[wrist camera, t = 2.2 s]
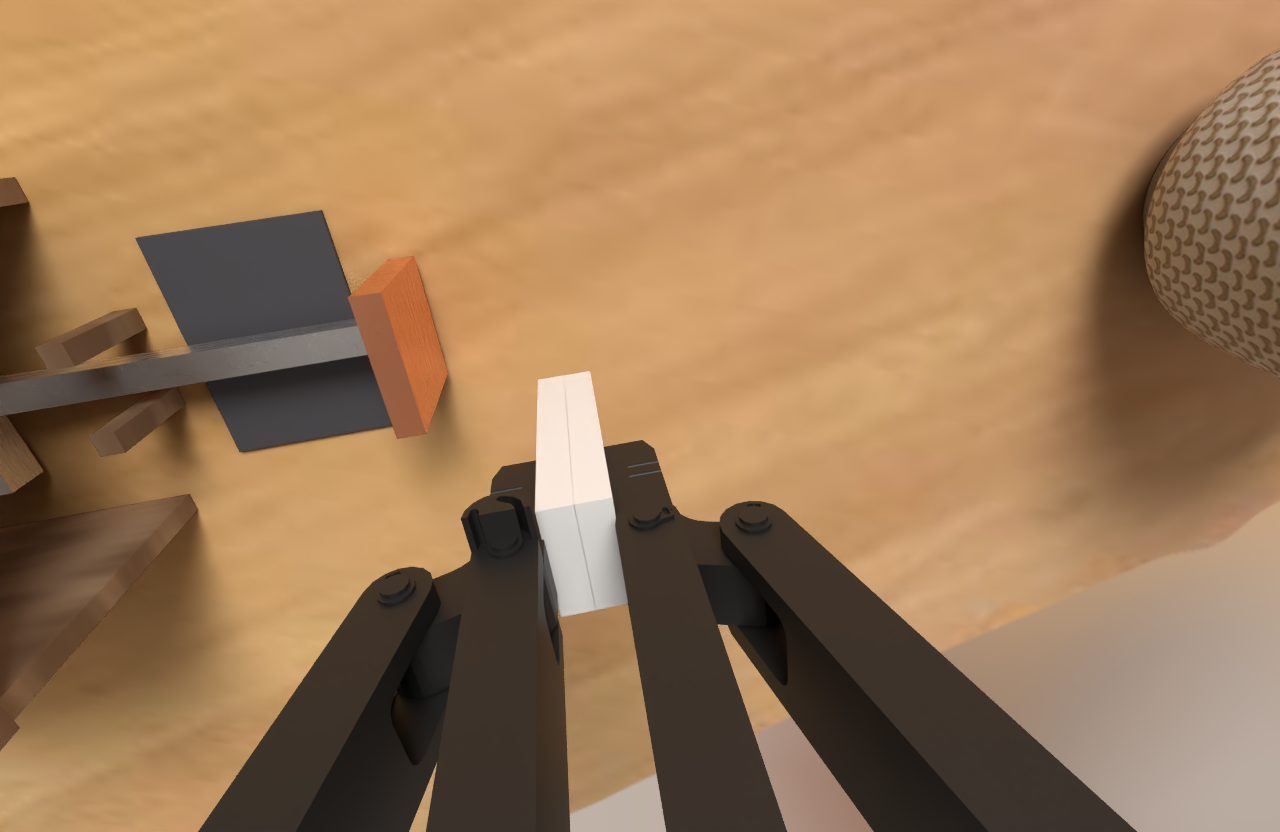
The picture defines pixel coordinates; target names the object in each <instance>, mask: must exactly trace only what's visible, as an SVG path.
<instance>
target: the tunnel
mask: <svg viewBox="0 0 1280 832" xmlns="http://www.w3.org/2000/svg"><path fill="white" fill-rule="evenodd" d="M27 202H28V200H27V199H26V197H25V195H24V193H23V191H22V189H21V188H20V186H19V184H18V182H17V180H16V179H15V177H13V178H4V179H0V207H3V206H9V205H15V204H21V203H27ZM145 329H146V327H145V325H144V323H143V321H142V319H141V317H140V315H139V313H138V311H137V309H136V308H133V309H127V310H120V311H114V312H111V313H109V314H107V315H105V316H103V317H100V318H98V319H96V320H94V321H91V322H89V323H87V324H85V325H83V326H80V327H78V328H76V329H74V330H72V331H69V332H67V333H65V334H63V335H60V336H58V337H56V338H54V339H52V340H49V341H47V342H45V343H43V344H41V345H38V346H36V347H34V348H35V349H36V351H37V353H38V354H39V356H40V358H41V359H42V361H43V363H44V364H45V366H46V367H47V369H48V371H51V370H57V369H63V368H69V367H75V366H77V365H79V364H81V363H83V362H85V361H86V360H88V359H90V358H92V357H94V356H96V355H98V354H100V353H101V352H103V351H105V350H107V349H109V348H111V347H113V346H115V345H116V344H118V343H120V342H122V341H124V340H126V339H128V338H130V337H131V336H133V335H135V334H137V333H139V332H141V331H143V330H145ZM184 405H185V403H184V401H183V399H182V397H181V395H180V393H179V391H178V389H177V387H171V388H165V389H159V390H154V391H152V392H151V393H150V394H148V395H147V396H145V397H144V398H142V399H141V400H140V401H138V402H137V403H135V404H134V405H133V406H131V407H130V408H128V409H127V410H125V411H124V412H123V413H121V414H120V415H118V416H117V417H115V418H114V419H113V420H111V421H110V422H108V423H107V424H106V425H104V426H103V427H101V428H100V429H98V430H97V431H96V432H94V433H93V434H91V435H90V436H89V438H90V440H91V441H92V443H93V445H94V446H95V448H96V450H97V451H98V453H99V454H100V456H101V457H103V456H109V455H114V454H120V453H126V452H127V451H128V450H129V449H131V448H132V447H133V446H134V445H136V444H137V443H138V442H139V441H140V440H142V439H143V438H144V437H145V436H147V435H148V434H149V433H150V432H152V431H153V430H154V429H155V428H157V427H158V426H159V425H160V424H162V423H163V422H164V421H165V420H166V419H168V418H169V417H170V416H171V415H173V414H174V413H175V412H176V411H178V410H179V409H180V408H181V407H183V406H184ZM197 510H198V509H197V507H196V505H195V504H194V502H193V500H192V498H191V496H190V494H188V495H182V496H177V497H171V498H166V499H160V500H155V501H149V502H144V503H138V504H133V505H127V506H121V507H116V508H110V509H105V510H99V511H94V512H88V513H83V514H77V515H72V516H66V517H60V518H55V519H49V520H44V521H38V522H33V523H27V524H22V525H16V526H11V527H5V528H0V751H1V749H2V748H3V747H4V746H5V745H6V744H7V742H8V741H9V740H10V739H11V738H12V736H13V735H14V734H15V733H16V732H17V731H18V729H19V728H20V727H19V726H18V725H17V724H16V723H15V722H14V720H15V718H16V717H17V716H18V715H19V714H20V713H21V712H22V710H23V709H24V708H25V707H26V706H27V705H28V703H29V702H30V701H31V700H32V699H33V698H34V697H35V695H36V694H37V693H38V692H39V691H40V690H41V689H42V687H43V686H44V685H45V684H46V683H47V682H48V681H49V679H50V678H51V677H52V676H53V675H54V674H55V673H56V671H57V670H58V669H59V668H60V667H61V666H62V665H63V663H64V662H65V661H66V660H67V659H68V658H69V656H70V655H71V654H72V653H73V652H74V651H75V650H76V648H77V647H78V646H79V645H80V644H81V643H82V642H83V640H84V639H85V638H86V637H87V636H88V635H89V634H90V632H91V631H92V630H93V629H94V628H95V627H96V626H97V624H98V623H99V622H100V621H101V620H102V619H103V618H104V616H105V615H106V614H107V613H108V612H109V611H110V610H111V608H112V607H113V606H114V605H115V604H116V603H117V601H118V600H119V599H120V598H121V597H122V596H123V595H124V593H125V592H126V591H127V590H128V589H129V588H130V587H131V585H132V584H133V583H134V582H135V581H136V580H137V579H138V577H139V576H140V575H141V574H142V573H143V572H144V571H145V569H146V568H147V567H148V566H149V565H150V564H151V563H152V561H153V560H154V559H155V558H156V557H157V556H158V554H159V553H160V552H161V551H162V550H163V549H164V548H165V546H166V545H167V544H168V543H169V542H170V541H171V540H172V538H173V537H174V536H175V535H176V534H177V533H178V532H179V530H180V529H181V528H182V527H183V526H184V525H185V524H186V522H187V521H188V520H189V519H190V518H191V517H192V516H193V514H194V513H195V512H196V511H197Z"/></svg>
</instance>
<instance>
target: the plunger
mask: <svg viewBox="0 0 1280 832" xmlns="http://www.w3.org/2000/svg"><path fill="white" fill-rule="evenodd" d="M348 300H349V303H350V305H351V308H352V311H353V314H354V317H355V319H350V320H344V321H337V322H331V323H325V324H319V325H313V326H307V327H300V328H294V329H288V330H282V331H276V332H270V333H263V334H257V335H251V336H245V337H239V338H232V339H226V340H220V341H214V342H208V343H202V344H195V345H189V346H183V347H177V348H171V349H164V350H158V351H152V352H146V353H140V354H134V355H127V356H121V357H115V358H109V359H103V360H97V361H90V362H84V363H81V364H79V365H77V366H75V367H69V368H63V369H57V370H51V371H48V369H41V370H35V371H29V372H22V373H16V374H10V375H4V376H0V495H5V494H10V493H14V492H15V491H16V490H18V489H19V488H21V487H22V486H23V485H25V484H26V483H28V482H29V481H30V480H32V479H33V478H35V477H36V476H38V475H39V474H40V473H42V472H43V470H42V468H41V467H40V465H39V464H38V462H37V461H36V459H35V458H34V456H33V455H32V453H31V452H30V450H29V449H28V447H27V446H26V444H25V443H24V441H23V440H22V438H21V437H20V435H19V434H18V432H17V431H16V429H15V428H14V426H13V425H12V423H11V422H10V420H9V419H8V417H7V416H6V415H9V414H15V413H21V412H27V411H33V410H39V409H45V408H51V407H57V406H63V405H69V404H75V403H81V402H87V401H93V400H99V399H105V398H111V397H117V396H123V395H129V394H135V393H141V392H147V391H153V390H159V389H165V388H171V387H177V386H183V385H189V384H195V383H201V382H207V381H213V380H219V379H225V378H231V377H237V376H243V375H249V374H255V373H261V372H267V371H273V370H279V369H285V368H291V367H297V366H303V365H309V364H315V363H321V362H327V361H333V360H339V359H345V358H351V357H357V356H363V355H368V357H369V360H370V363H371V366H372V368H373V371H374V374H375V377H376V380H377V383H378V386H379V389H380V391H381V394H382V397H383V400H384V403H385V406H386V409H387V411H388V414H389V417H390V420H391V423H392V426H393V429H394V432H395V434H396V437H397V439H400V438H405V437H411V436H417V435H422V434H427V431H428V428H429V425H430V422H431V420H432V417H433V414H434V411H435V408H436V405H437V403H438V400H439V397H440V394H441V391H442V388H443V386H444V383H445V380H446V377H447V374H448V372H447V368H446V365H445V361H444V358H443V354H442V351H441V348H440V344H439V341H438V337H437V334H436V330H435V327H434V323H433V320H432V316H431V313H430V310H429V306H428V303H427V299H426V296H425V292H424V289H423V285H422V282H421V278H420V275H419V272H418V268H417V265H416V261H415V258H414V256H410V257H403V258H397V259H390V260H387V261H386V262H385V263H384V264H383V265H382V266H381V267H380V268H379V269H378V270H377V271H376V272H375V273H373V274H372V275H371V276H370V277H369V278H368V279H367V280H366V281H365V282H364V283H363V284H362V285H361V286H360V287H358V288H357V289H356V290H355V291H354V292H353V293H352V294H351V295H350V296H349V297H348Z"/></svg>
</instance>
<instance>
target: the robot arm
mask: <svg viewBox="0 0 1280 832" xmlns="http://www.w3.org/2000/svg"><path fill="white" fill-rule="evenodd" d="M461 521H462V524H463V527H464V530H465V533H466V537H467V540H468V543H469V546H470V549H471V552H472V553H471V559H470V561H469V562H468V563H466V564H465V565H463V566H462V567H460V568H458V569H456V570H454V571H452V572H450V573H447V574H445V575H442V576H440V577H437V578H435V579H432V576H431V573H430V572H428V571H427V570H425V569H423V568H417V567H407V568H401V569H397V570H395V571H392V572H390V573H387V574H385V575H383V576H382V577H380V578H379V579H377V580H375V581H374V582H372V584H371V585H370V586H369V587H368V588H367V589H366V590H365V591H364V592H363V594H362V595H361V596H360V598H359V599H358V601H357V602H356V604H355V605H354V607H353V608H352V609H351V611H350V612H349V614H348V615H347V617H346V618H345V620H344V621H343V623H342V624H341V625H340V627H339V628H338V630H337V631H336V633H335V634H334V636H333V637H332V638H331V640H330V641H329V643H328V644H327V646H326V647H325V649H324V650H323V652H322V653H321V654H320V656H319V657H318V659H317V660H316V662H315V663H314V665H313V666H312V667H311V669H310V670H309V672H308V673H307V675H306V676H305V678H304V679H303V681H302V682H301V683H300V685H299V686H298V688H297V689H296V691H295V692H294V694H293V695H292V696H291V698H290V699H289V701H288V702H287V704H286V705H285V707H284V708H283V710H282V711H281V712H280V714H279V715H278V717H277V718H276V720H275V721H274V723H273V724H272V725H271V727H270V728H269V730H268V731H267V733H266V734H265V736H264V737H263V739H262V740H261V741H260V743H259V744H258V746H257V747H256V749H255V750H254V752H253V753H252V754H251V756H250V757H249V759H248V760H247V762H246V763H245V765H244V766H243V768H242V769H241V770H240V772H239V773H238V775H237V776H236V778H235V779H234V781H233V782H232V783H231V785H230V786H229V788H228V789H227V791H226V792H225V794H224V795H223V797H222V798H221V799H220V801H219V802H218V804H217V805H216V807H215V808H214V810H213V811H212V812H211V814H210V815H209V817H208V818H207V820H206V821H205V823H204V824H203V826H202V827H201V828H200V830H199V831H198V832H409V830H410V827H411V825H412V823H413V820H414V818H415V815H416V813H417V810H418V808H419V805H420V803H421V800H422V798H423V795H424V793H425V790H426V788H427V785H428V783H429V780H430V778H431V775H432V773H433V771H434V768H435V766H436V763H437V767H436V773H435V779H434V785H433V792H432V798H431V804H430V810H429V816H428V822H427V828H426V832H570V815H569V789H568V763H567V737H566V711H565V685H564V660H563V636H562V632H561V628H560V624H559V620H558V607H559V611H560V615H561V617H564V616H570V615H575V614H580V613H585V612H590V611H595V610H600V609H605V608H610V607H615V606H620V605H625V604H628V606H629V612H630V618H631V624H632V630H633V636H634V642H635V648H636V653H637V659H638V665H639V671H640V677H641V683H642V689H643V695H644V701H645V707H646V713H647V719H648V725H649V731H650V737H651V743H652V749H653V755H654V761H655V767H656V773H657V779H658V784H659V790H660V796H661V802H662V808H663V814H664V820H665V825H666V832H787V830H786V827H785V824H784V821H783V818H782V815H781V812H780V809H779V806H778V803H777V800H776V797H775V794H774V791H773V789H772V786H771V783H770V780H769V777H768V774H767V771H766V768H765V765H764V762H763V759H762V756H761V753H760V750H759V747H758V744H757V741H756V738H755V735H754V732H753V729H752V726H751V723H750V720H749V717H748V714H747V711H746V708H745V705H744V702H743V699H742V696H741V693H740V690H739V688H738V685H737V682H736V679H735V676H734V673H733V670H732V667H731V664H730V661H729V658H728V655H727V652H726V649H725V646H724V643H723V640H722V637H721V634H720V631H719V628H718V625H717V624H722V625H728V627H729V629H730V632H731V634H732V635H733V637H734V638H735V639H736V641H737V642H738V644H739V645H740V646H741V648H742V649H743V651H744V652H745V653H746V655H747V656H748V658H749V659H750V660H751V662H752V663H753V664H754V666H755V667H756V669H757V670H758V671H759V673H760V674H761V676H762V677H763V678H764V680H765V681H766V683H767V684H768V685H769V687H770V688H771V689H772V691H773V692H774V694H775V695H776V696H777V698H778V699H779V701H780V702H781V703H782V705H783V706H784V708H785V709H786V710H787V712H788V713H789V714H790V716H791V717H792V719H793V720H794V721H795V723H796V724H797V725H798V727H799V728H800V730H801V731H802V733H803V734H804V735H805V737H806V738H807V739H808V741H809V742H810V743H811V745H812V746H813V748H814V749H815V751H816V752H817V753H818V755H819V756H820V758H821V759H822V760H823V762H824V763H825V764H826V766H827V767H828V769H829V770H830V771H831V773H832V774H833V775H834V777H835V778H836V780H837V781H838V783H839V784H840V785H841V787H842V788H843V789H844V791H845V792H846V793H847V795H848V796H849V798H850V799H851V800H852V802H853V803H854V805H855V806H856V808H857V809H858V810H859V812H860V813H861V814H862V816H863V817H864V819H865V820H866V821H867V823H868V824H869V826H870V827H871V828H872V830H873V831H874V832H1137V831H1136V830H1135V829H1133V828H1132V827H1131V826H1130V825H1129V824H1128V823H1127V822H1126V821H1125V820H1124V819H1122V818H1121V817H1120V816H1119V815H1118V814H1117V813H1116V812H1114V811H1113V810H1112V809H1111V808H1110V807H1109V806H1108V805H1107V804H1106V803H1105V802H1104V801H1103V800H1101V799H1100V798H1099V797H1098V796H1097V795H1096V794H1095V793H1094V792H1093V791H1091V790H1090V789H1089V788H1088V787H1087V786H1086V785H1085V784H1084V783H1083V782H1082V781H1081V780H1079V779H1078V778H1077V777H1076V776H1075V775H1074V774H1073V773H1072V772H1071V771H1070V770H1068V769H1067V768H1066V767H1065V766H1064V765H1063V764H1062V763H1061V762H1060V761H1059V760H1057V759H1056V758H1055V757H1054V756H1053V755H1052V754H1051V753H1050V752H1048V751H1047V750H1046V749H1045V748H1044V747H1043V746H1042V745H1041V744H1040V743H1039V742H1038V741H1037V740H1035V739H1034V738H1033V737H1032V736H1031V735H1030V734H1029V733H1028V732H1027V731H1026V730H1024V729H1023V728H1022V727H1021V726H1020V725H1019V724H1018V723H1017V722H1016V721H1015V720H1013V719H1012V718H1011V717H1010V716H1009V715H1008V714H1007V713H1006V712H1005V711H1003V710H1002V709H1001V708H1000V707H999V706H998V705H997V704H996V703H995V702H994V701H992V700H991V699H990V698H989V697H988V696H987V695H986V694H985V693H984V692H983V691H981V690H980V689H979V688H978V687H977V686H976V685H975V684H974V683H973V682H972V681H970V680H969V679H968V678H967V677H966V676H965V675H964V674H963V673H962V672H960V671H959V670H958V669H957V668H956V667H955V666H954V665H953V664H952V663H951V662H949V661H948V660H947V659H946V658H945V657H944V656H943V655H942V654H941V653H940V652H939V651H937V650H936V649H935V648H934V647H933V646H932V645H931V644H930V643H929V642H928V641H926V640H925V639H924V638H923V637H922V636H921V635H920V634H919V633H918V632H917V631H915V630H914V629H913V628H912V627H911V626H910V625H909V624H908V623H907V622H906V621H904V620H903V619H902V618H901V617H900V616H899V615H898V614H897V613H896V612H895V611H893V610H892V609H891V608H890V607H889V606H888V605H887V604H886V603H885V602H884V601H882V600H881V599H880V598H879V597H878V596H877V595H876V594H875V593H874V592H872V591H871V590H870V589H869V588H868V587H867V586H866V585H865V584H864V583H863V582H861V581H860V580H859V579H858V578H857V577H856V576H855V575H854V574H853V573H852V572H850V571H849V570H848V569H847V568H846V567H845V566H844V565H843V564H842V563H841V562H839V561H838V560H837V559H836V558H835V557H834V556H833V555H832V554H831V553H830V552H828V551H827V550H826V549H825V548H824V547H823V546H822V545H821V544H820V543H819V542H817V541H816V540H815V539H814V538H813V537H812V536H811V535H810V534H809V533H808V532H806V531H805V530H804V529H803V528H802V527H801V526H800V525H799V524H798V523H797V522H795V521H794V520H793V519H792V518H791V517H790V516H789V515H788V514H787V513H786V512H784V511H783V510H782V509H780V508H778V507H777V506H775V505H773V504H769V503H766V502H761V501H748V502H743V503H738V504H735V505H733V506H732V507H730V508H728V509H726V510H725V512H724V513H723V514H722V515H721V517H720V522H706V521H697V520H693V519H689V518H687V517H685V516H683V515H681V514H680V513H679V511H678V510H677V509H676V507H675V506H673V505H672V502H671V499H670V496H669V493H668V490H667V487H666V484H665V481H664V478H663V475H662V472H661V469H660V466H659V462H658V459H657V456H656V453H655V450H654V448H652V447H651V446H650V445H648V444H647V443H646V442H644V441H643V440H640V441H635V442H629V443H623V444H618V445H612V446H607V447H603V442H602V436H601V431H600V425H599V419H598V414H597V408H596V403H595V397H594V391H593V386H592V380H591V375H590V371H588V372H582V373H576V374H570V375H564V376H558V377H552V378H546V379H541V380H538V405H537V445H536V461H531V462H525V463H520V464H514V465H508V466H503V467H502V468H501V469H500V470H499V471H498V473H497V474H496V475H495V476H494V478H493V479H492V485H491V494H490V496H486V497H484V498H482V499H480V500H478V501H476V502H474V503H473V504H472V505H471V506H469V507H468V508H467V509H466V510H465V511H464V513H463V515H462V517H461Z"/></svg>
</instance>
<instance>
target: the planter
mask: <svg viewBox="0 0 1280 832" xmlns="http://www.w3.org/2000/svg"><path fill="white" fill-rule="evenodd" d="M1143 227H1144V257H1145V262H1146V268H1147V274H1148V277H1149V279H1150V282H1151V285H1152V287H1153V290H1154V292H1155V295H1156V297H1157V298H1158V300H1159V301H1160V302H1161V304H1162V305H1163V307H1164V308H1165V309H1166V311H1167V312H1168V313H1169V314H1170V315H1171V316H1172V317H1173V318H1174V319H1175V320H1176V321H1178V322H1179V323H1180V324H1181V325H1182V326H1183V327H1185V328H1186V329H1187V330H1189V331H1190V332H1191V333H1192V334H1194V335H1195V336H1197V337H1199V338H1200V339H1202V340H1204V341H1205V342H1207V343H1209V344H1211V345H1212V346H1214V347H1216V348H1218V349H1220V350H1222V351H1224V352H1226V353H1228V354H1230V355H1232V356H1234V357H1236V358H1238V359H1240V360H1242V361H1244V362H1246V363H1248V364H1250V365H1252V366H1254V367H1256V368H1258V369H1260V370H1262V371H1265V372H1267V373H1269V374H1271V375H1273V376H1275V377H1277V378H1279V379H1280V48H1278V49H1277V50H1275V51H1273V52H1272V53H1270V54H1268V55H1267V56H1265V57H1264V58H1262V59H1261V60H1259V61H1258V62H1257V63H1255V64H1254V65H1253V66H1252V67H1250V68H1249V69H1248V70H1247V71H1245V72H1244V73H1243V74H1242V75H1240V76H1239V77H1238V78H1236V79H1235V80H1234V81H1233V82H1231V83H1230V84H1229V85H1228V86H1227V87H1226V88H1225V89H1224V90H1223V91H1222V92H1221V93H1220V94H1219V95H1218V96H1217V97H1216V98H1215V99H1214V100H1213V101H1212V102H1211V103H1209V105H1208V106H1207V107H1206V108H1205V109H1204V111H1203V112H1202V113H1201V114H1200V115H1199V117H1198V118H1197V119H1196V120H1195V121H1194V123H1193V124H1192V125H1191V126H1190V127H1189V128H1188V129H1187V130H1186V131H1185V132H1184V133H1183V134H1182V135H1181V136H1180V137H1179V138H1178V139H1177V140H1176V141H1175V143H1174V144H1173V145H1172V146H1171V147H1170V149H1169V150H1168V151H1167V153H1166V154H1165V156H1164V157H1163V159H1162V160H1161V162H1160V164H1159V166H1158V167H1157V169H1156V171H1155V173H1154V175H1153V177H1152V180H1151V182H1150V185H1149V187H1148V191H1147V194H1146V198H1145V202H1144V209H1143Z"/></svg>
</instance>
